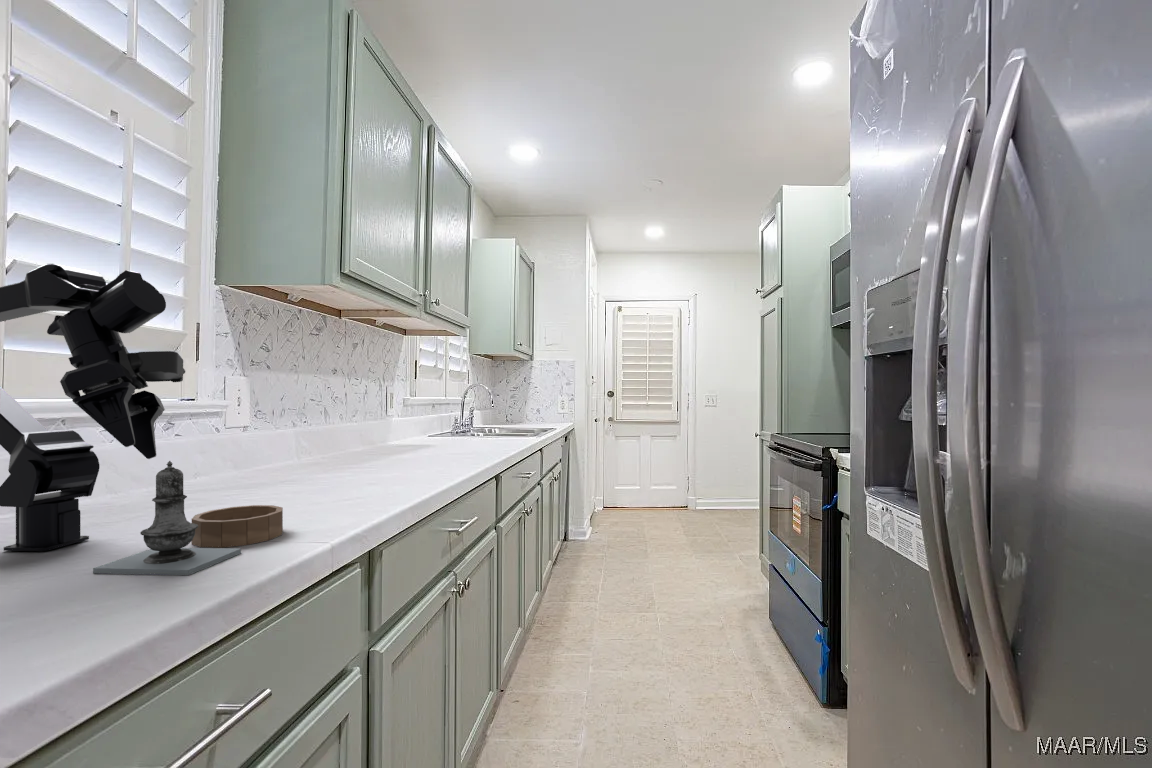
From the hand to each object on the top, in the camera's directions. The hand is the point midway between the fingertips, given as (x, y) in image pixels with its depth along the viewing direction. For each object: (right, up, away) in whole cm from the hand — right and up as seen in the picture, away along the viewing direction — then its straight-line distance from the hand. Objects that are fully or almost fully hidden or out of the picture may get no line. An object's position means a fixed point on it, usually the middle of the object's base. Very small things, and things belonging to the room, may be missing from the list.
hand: (141, 452), depth 77 cm
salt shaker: (+8, -13, -6) cm, 16 cm away
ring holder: (+9, -13, +7) cm, 17 cm away
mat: (+8, -13, -6) cm, 16 cm away
